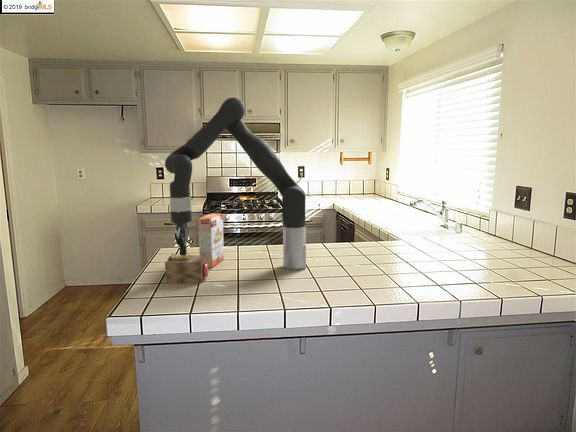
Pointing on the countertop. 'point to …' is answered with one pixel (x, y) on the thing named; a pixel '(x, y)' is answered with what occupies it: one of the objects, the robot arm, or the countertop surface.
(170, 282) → the block
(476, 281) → the countertop surface
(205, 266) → the lynch pin
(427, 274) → the countertop surface
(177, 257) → the lever
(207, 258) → the cracker box
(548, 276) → the countertop surface
